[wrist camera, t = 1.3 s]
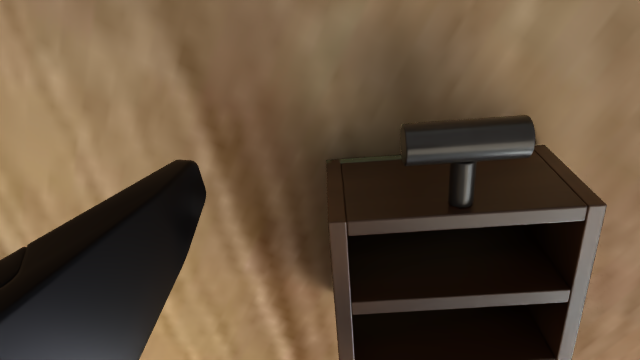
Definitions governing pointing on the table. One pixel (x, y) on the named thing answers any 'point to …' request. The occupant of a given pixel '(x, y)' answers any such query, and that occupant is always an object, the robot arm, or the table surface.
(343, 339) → the shelf
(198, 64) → the table surface
